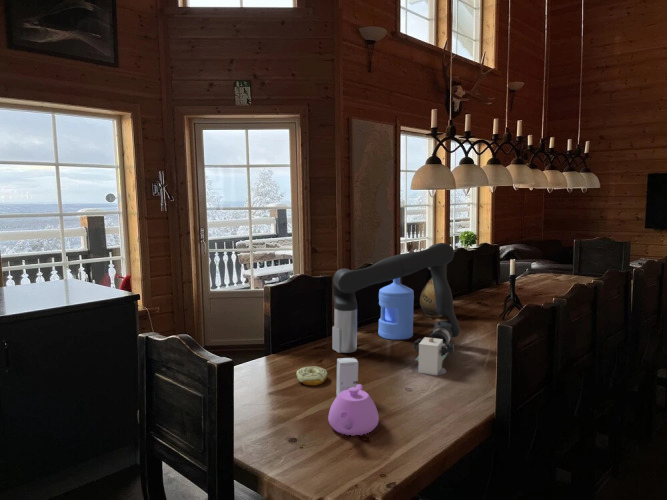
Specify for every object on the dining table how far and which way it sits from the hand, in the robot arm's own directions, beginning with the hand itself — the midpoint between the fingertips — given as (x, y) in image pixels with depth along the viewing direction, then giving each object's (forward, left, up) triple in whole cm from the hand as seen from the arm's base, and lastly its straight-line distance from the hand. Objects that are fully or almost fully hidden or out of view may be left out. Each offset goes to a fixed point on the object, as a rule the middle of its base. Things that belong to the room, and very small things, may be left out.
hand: (430, 351), depth 174 cm
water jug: (+15, +44, -8) cm, 47 cm away
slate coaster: (+1, +1, -7) cm, 8 cm away
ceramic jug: (+55, +66, -8) cm, 86 cm away
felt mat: (+10, +12, -7) cm, 17 cm away
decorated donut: (-41, +12, -8) cm, 43 cm away
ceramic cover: (+1, +1, -7) cm, 7 cm away
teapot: (-45, -24, -8) cm, 52 cm away
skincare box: (-37, -6, -8) cm, 38 cm away
